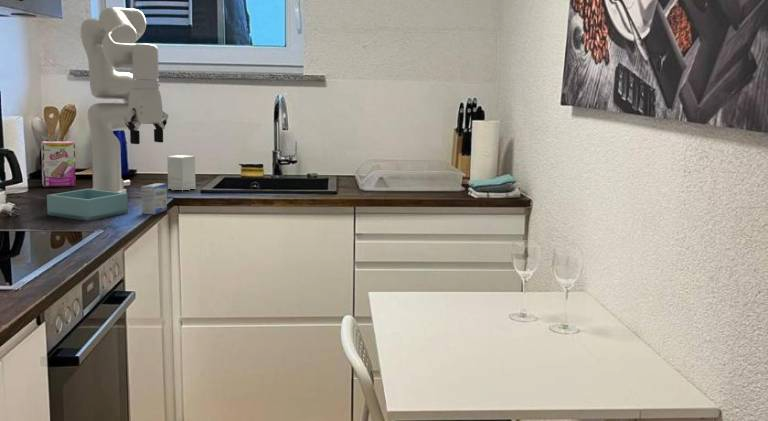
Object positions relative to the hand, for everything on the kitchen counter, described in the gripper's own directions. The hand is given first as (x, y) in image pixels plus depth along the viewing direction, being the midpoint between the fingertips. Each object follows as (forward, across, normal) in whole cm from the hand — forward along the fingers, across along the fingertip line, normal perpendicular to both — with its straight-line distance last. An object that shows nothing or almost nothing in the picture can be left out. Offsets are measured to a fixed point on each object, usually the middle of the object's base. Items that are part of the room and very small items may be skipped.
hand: (147, 143), depth 229 cm
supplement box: (+21, -42, -26) cm, 54 cm away
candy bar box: (+21, -21, -65) cm, 71 cm away
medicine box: (+22, -2, 0) cm, 22 cm away
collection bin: (+22, +12, -13) cm, 28 cm away
